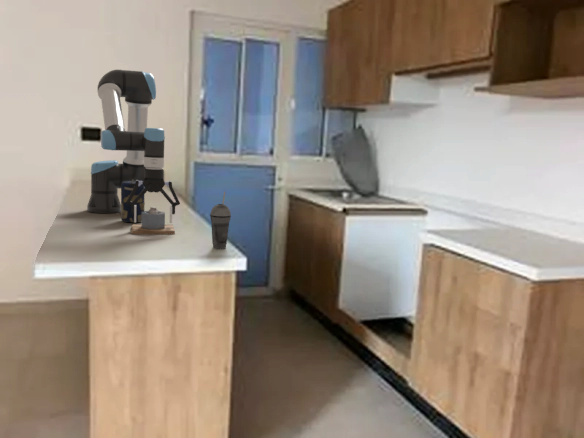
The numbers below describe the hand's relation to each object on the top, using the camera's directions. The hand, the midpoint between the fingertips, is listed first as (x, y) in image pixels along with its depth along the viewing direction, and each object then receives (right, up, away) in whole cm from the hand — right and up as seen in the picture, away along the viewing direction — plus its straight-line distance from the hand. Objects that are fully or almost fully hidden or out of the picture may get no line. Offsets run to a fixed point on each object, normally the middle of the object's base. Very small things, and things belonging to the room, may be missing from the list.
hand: (153, 222), depth 215 cm
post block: (0, -3, +1) cm, 3 cm away
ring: (0, -2, 0) cm, 2 cm away
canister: (-13, 0, +17) cm, 22 cm away
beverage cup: (+29, -9, -23) cm, 38 cm away
